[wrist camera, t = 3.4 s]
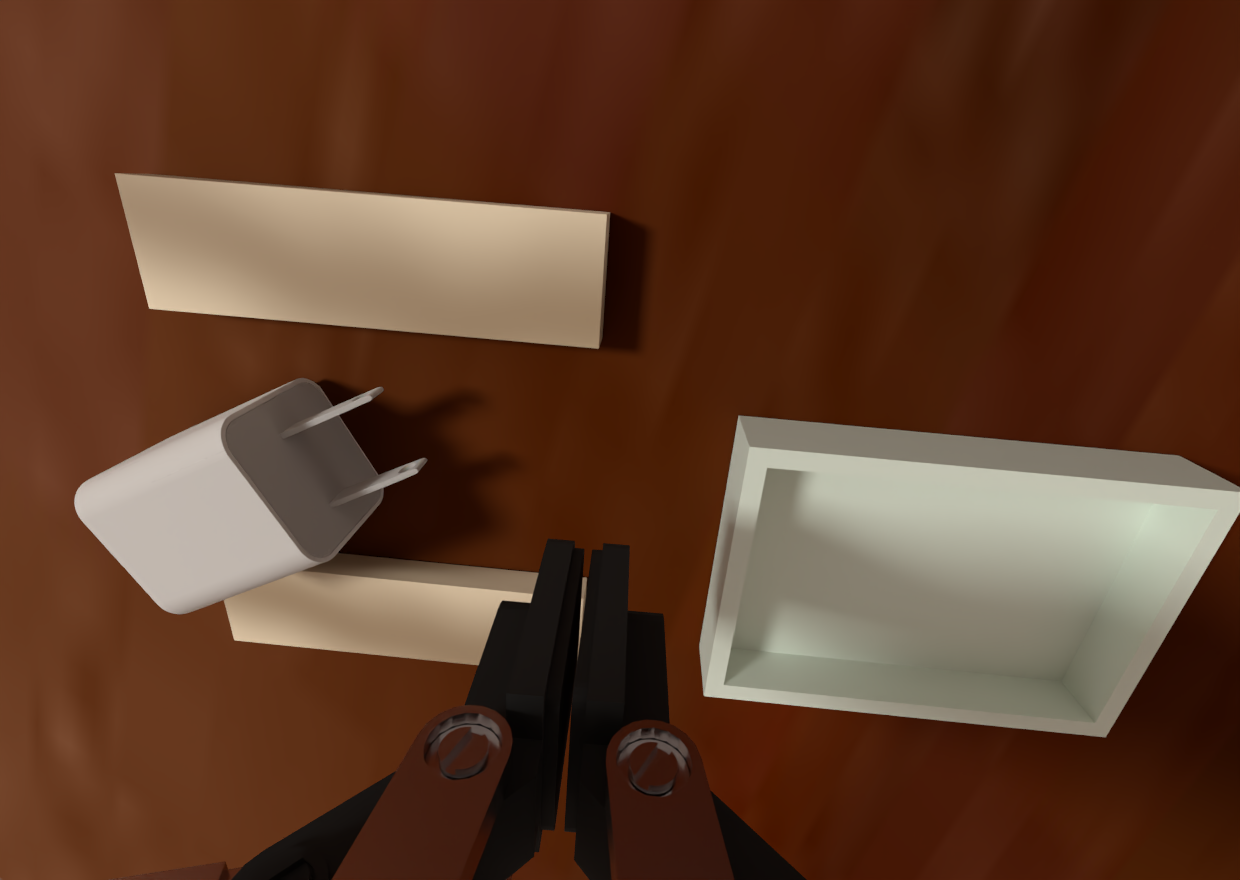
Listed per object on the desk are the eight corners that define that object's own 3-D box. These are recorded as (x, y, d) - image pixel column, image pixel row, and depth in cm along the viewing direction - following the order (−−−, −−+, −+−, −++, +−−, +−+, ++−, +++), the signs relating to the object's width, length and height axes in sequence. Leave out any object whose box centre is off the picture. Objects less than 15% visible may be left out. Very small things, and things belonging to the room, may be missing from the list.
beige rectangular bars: (150, 174, 14) (114, 173, 13) (610, 212, 14) (607, 214, 13) (254, 618, 19) (234, 640, 18) (582, 651, 19) (578, 675, 18)
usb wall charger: (189, 426, 17) (58, 495, 13) (391, 334, 15) (306, 382, 12) (274, 537, 18) (177, 626, 14) (466, 462, 17) (412, 540, 13)
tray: (738, 415, 15) (749, 446, 14) (1179, 455, 15) (1251, 493, 13) (699, 645, 19) (703, 695, 17) (1061, 682, 18) (1105, 737, 17)
